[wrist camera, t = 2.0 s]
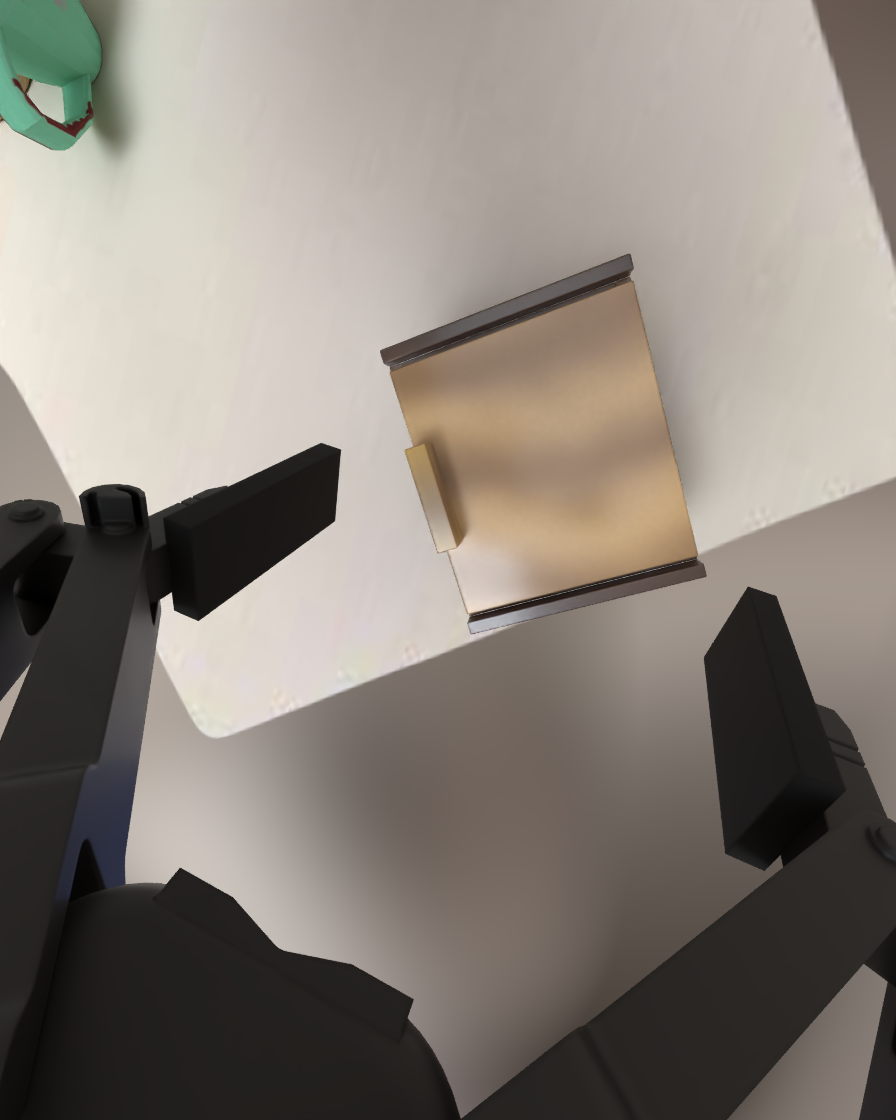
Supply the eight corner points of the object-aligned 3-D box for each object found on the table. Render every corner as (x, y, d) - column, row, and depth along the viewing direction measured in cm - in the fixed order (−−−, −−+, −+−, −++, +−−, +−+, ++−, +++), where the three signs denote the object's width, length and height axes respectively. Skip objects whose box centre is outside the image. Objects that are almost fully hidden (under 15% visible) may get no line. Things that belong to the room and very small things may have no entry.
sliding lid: (392, 373, 30) (376, 365, 27) (630, 283, 27) (642, 263, 24) (468, 611, 33) (461, 628, 30) (694, 553, 30) (713, 566, 27)
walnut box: (421, 375, 40) (379, 350, 29) (602, 308, 37) (630, 252, 26) (487, 586, 43) (470, 634, 32) (660, 540, 40) (706, 576, 29)
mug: (-4, 13, 39) (-181, -128, 29) (97, -57, 37) (-57, -232, 27) (78, 214, 41) (-60, 146, 32) (178, 161, 39) (62, 69, 30)
